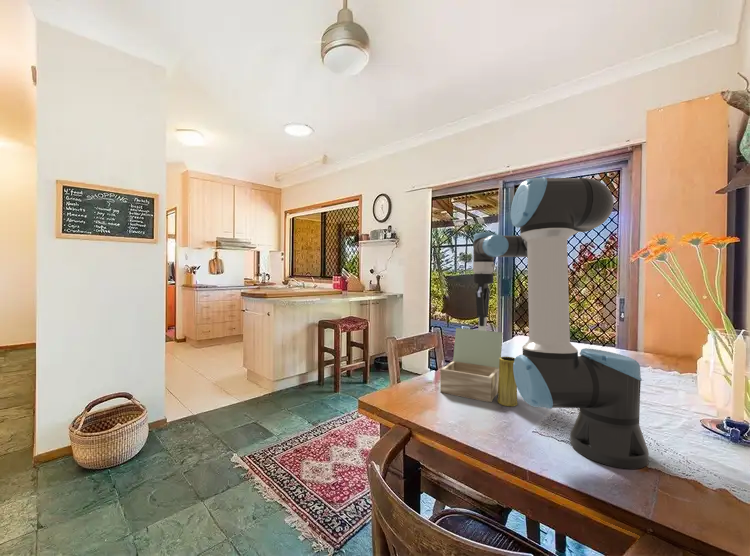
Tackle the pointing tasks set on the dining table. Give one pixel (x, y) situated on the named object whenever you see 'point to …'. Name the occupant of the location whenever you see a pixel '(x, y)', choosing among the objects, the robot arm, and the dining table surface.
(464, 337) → the lid
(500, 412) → the dining table surface
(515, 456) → the dining table surface
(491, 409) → the dining table surface
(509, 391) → the vase
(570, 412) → the dining table surface
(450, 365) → the box
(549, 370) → the robot arm
